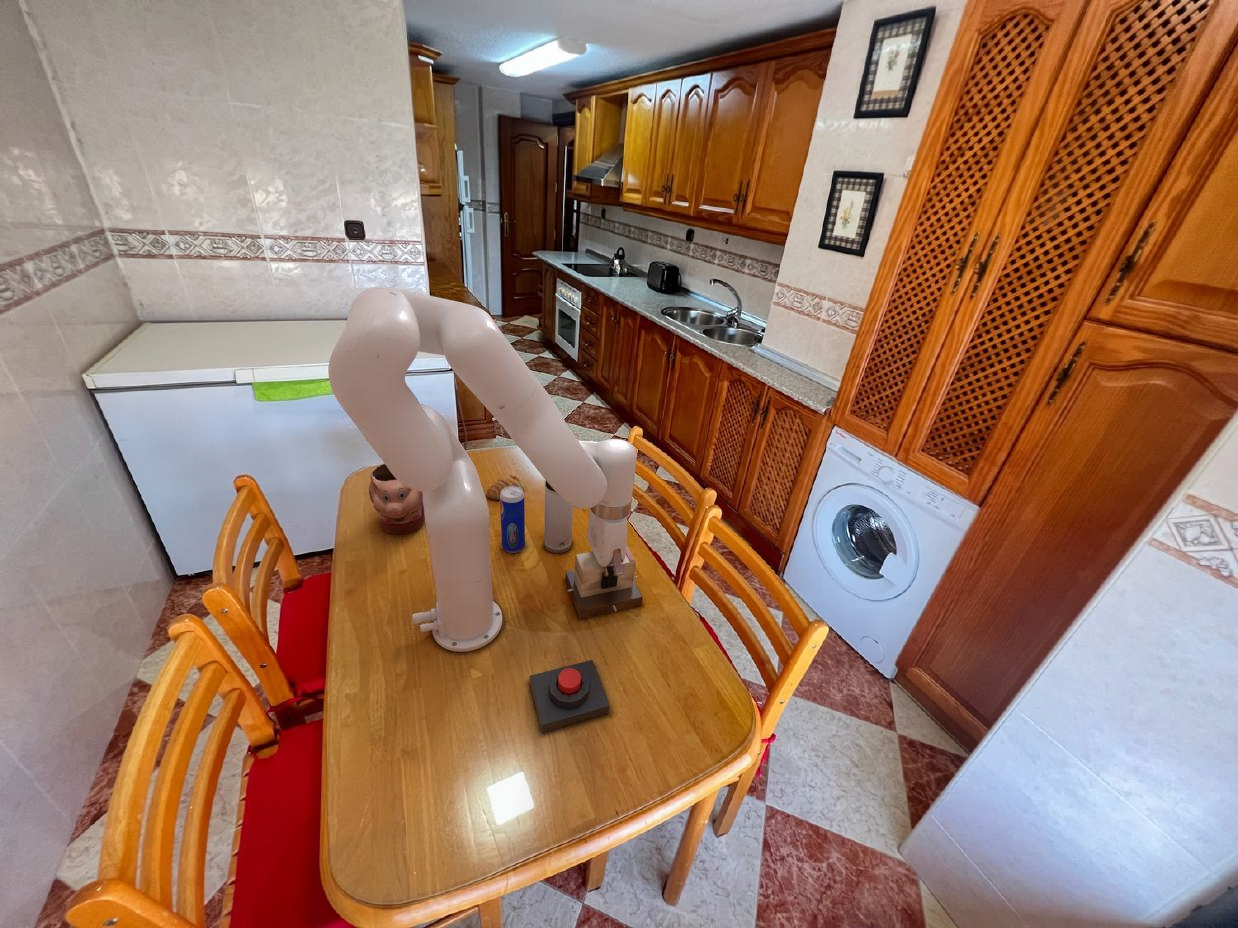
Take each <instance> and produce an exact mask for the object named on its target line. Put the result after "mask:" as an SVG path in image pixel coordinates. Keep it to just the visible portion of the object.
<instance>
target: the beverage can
mask: <svg viewBox="0 0 1238 928" xmlns="http://www.w3.org/2000/svg"><path fill="white" fill-rule="evenodd" d="M525 505H526V504H525V493H524V490H522V489H521V488H520V487H517V486H509V487H505V488H504V489H502V491H501V493H500V499H499V512H500V533H501V534H500V535H501V536H500V537H501V548H502V549H503V550H504V551H506V552H507V553H510V554H511V553H512V554H513V553H518V552H521V551H522V550H523V549H524V548H525V547H526V519H525V518H526V514H525V513H526V512H525V507H526V506H525Z"/></svg>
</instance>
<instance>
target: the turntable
mask: <svg viewBox="0 0 1238 928" xmlns="http://www.w3.org/2000/svg"><path fill="white" fill-rule="evenodd" d="M574 576H575V569H572V570H567V571H565V577H564V578H565V584H566V586H567V590H566V591H567V592H569V594H570V596H571V600H572V603H573V604H574V607H575V610H576V613H577V615H578V618H579V620H583V619H588V618H592V617H596V616H600V615H605V614H610V613H614V612H619V611H623V610H627V609H633V608H636V607H642V603H643V595H642V593H641V591H640V590H639V587H638V586H637V584H636V581H635V580H633V587H630V588H625V589H621V590H616V591H611V592H606V593H601V594H596V595H592V596H587V597H582V598H581V596H580V594H579V591H578V589H577V586H576V584H575V581H574ZM638 578H639V577H638V575H634V579H638Z"/></svg>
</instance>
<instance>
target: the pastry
mask: <svg viewBox="0 0 1238 928" xmlns="http://www.w3.org/2000/svg"><path fill="white" fill-rule="evenodd" d="M509 486H517V487H520V488H521V489H522V490H523V491H524V490H525V487H524V483H523V482H522V481H521V479H520V477H519V476H518V475H516V474H510V475H508V476H505V477H501V478H499V479H498V480H496V481H495V482H494V483H493V484H492V485H491V486H489V487H488V489H487V493H486V496H487V497H488V498H489V499H493V500H497V501H498V500H499V501H500V493H501V491H502V489H504V488H505V487H509Z"/></svg>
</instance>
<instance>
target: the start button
mask: <svg viewBox="0 0 1238 928" xmlns="http://www.w3.org/2000/svg"><path fill="white" fill-rule="evenodd" d="M580 685H581V675H580V673H579V672H578V671H577V670H575V669H572V668H568V669H564V670H563V671H562V672H561V673H560V674H559V677H558V688H559V690H560V691H561V692H562V693H564V694H566V695H572V694H574V693H576V692H577V691H578V690H579V689H580Z"/></svg>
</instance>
